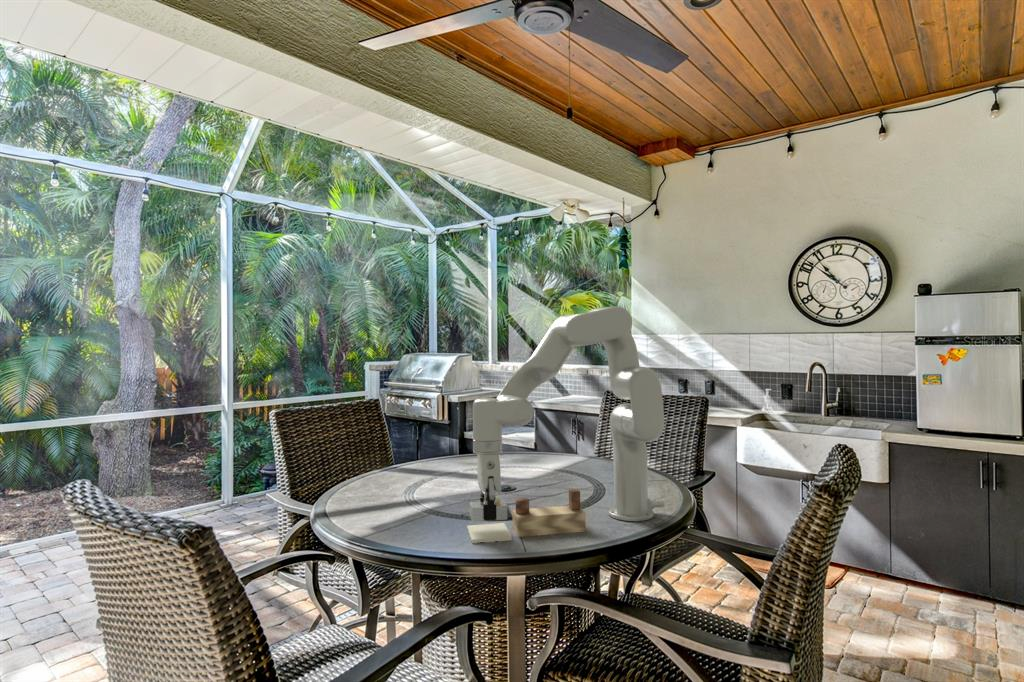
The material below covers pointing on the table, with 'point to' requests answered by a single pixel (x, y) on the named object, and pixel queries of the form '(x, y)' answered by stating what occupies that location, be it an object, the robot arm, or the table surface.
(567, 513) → the body
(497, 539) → the felt mat
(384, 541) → the table surface
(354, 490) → the table surface
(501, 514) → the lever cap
